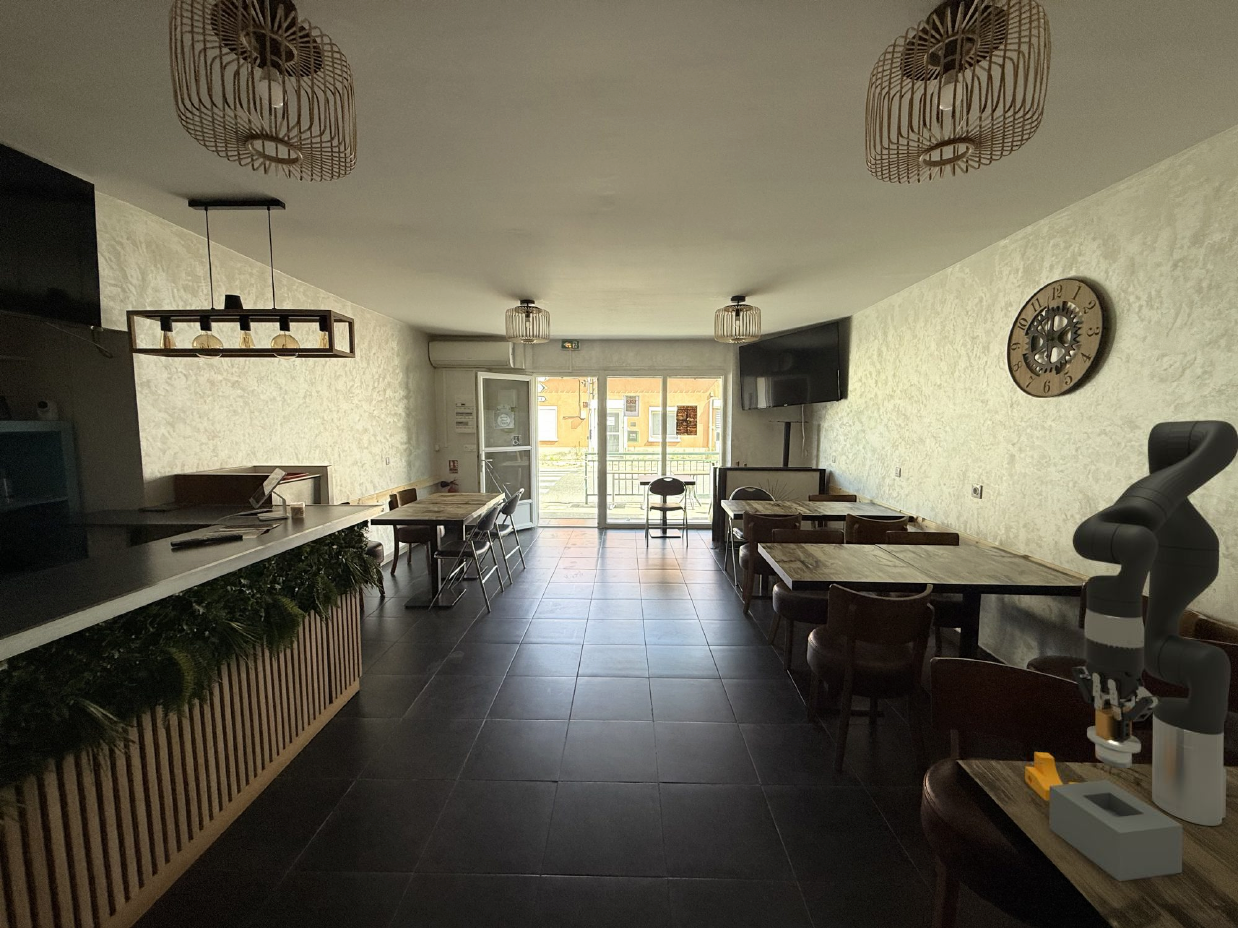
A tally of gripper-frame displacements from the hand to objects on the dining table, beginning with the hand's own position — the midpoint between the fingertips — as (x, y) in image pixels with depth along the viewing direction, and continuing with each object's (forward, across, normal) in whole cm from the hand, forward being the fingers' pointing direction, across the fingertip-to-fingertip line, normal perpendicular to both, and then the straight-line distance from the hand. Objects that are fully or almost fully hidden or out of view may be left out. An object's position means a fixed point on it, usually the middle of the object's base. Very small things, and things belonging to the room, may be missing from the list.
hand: (1113, 735), depth 91 cm
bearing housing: (+20, 0, 0) cm, 20 cm away
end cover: (+4, 0, 0) cm, 4 cm away
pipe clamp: (+21, +13, -2) cm, 24 cm away
